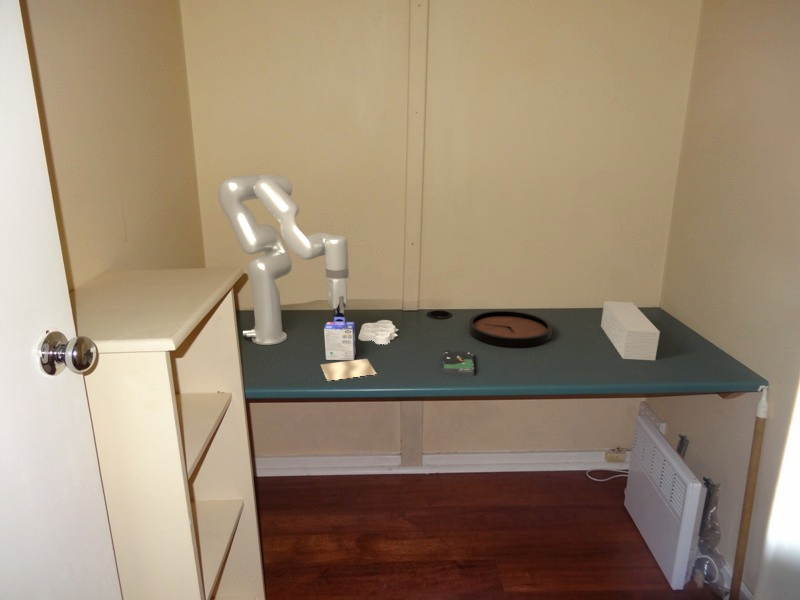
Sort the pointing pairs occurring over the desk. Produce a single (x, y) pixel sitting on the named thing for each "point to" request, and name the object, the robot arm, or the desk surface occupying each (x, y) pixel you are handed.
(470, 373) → the disk drive
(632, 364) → the desk surface
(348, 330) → the ink cartridge box
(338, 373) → the board
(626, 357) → the stack of papers
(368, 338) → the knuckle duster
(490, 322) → the wall clock
